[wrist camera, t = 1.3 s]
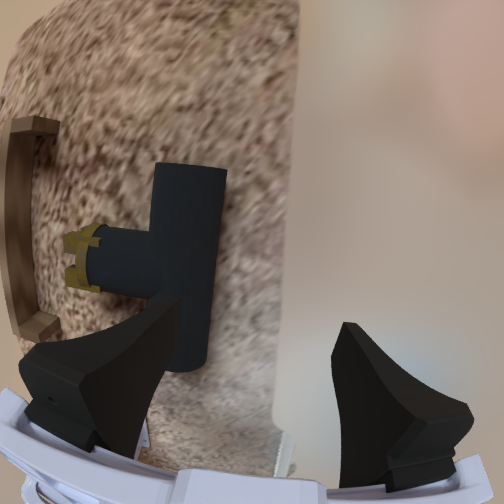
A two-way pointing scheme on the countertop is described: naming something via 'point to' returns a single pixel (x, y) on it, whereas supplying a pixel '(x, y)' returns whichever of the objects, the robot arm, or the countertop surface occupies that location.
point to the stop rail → (21, 227)
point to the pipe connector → (161, 253)
